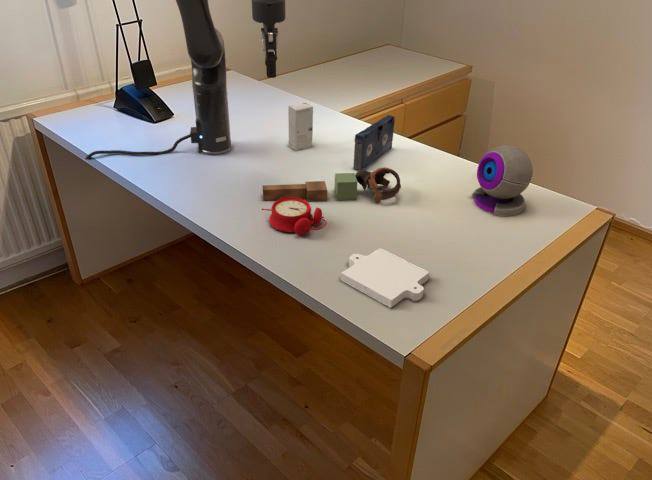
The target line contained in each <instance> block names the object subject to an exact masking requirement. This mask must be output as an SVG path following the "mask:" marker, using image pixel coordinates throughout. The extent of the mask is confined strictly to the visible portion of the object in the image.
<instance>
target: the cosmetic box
mask: <svg viewBox="0 0 652 480" xmlns="http://www.w3.org/2000/svg"><path fill="white" fill-rule="evenodd" d="M287 110H288V115H287V116H288V120H287V121H288V146H289V147H290V148H291V149H292V150H293V151H298V150H304V149H307V148H312V147H313V136H314V135H313V132H314V131H313V127H314V125H313V124H314V106H313V105H311V104H310V103H308V102H301V103H295V104H291V105H288V109H287Z"/></svg>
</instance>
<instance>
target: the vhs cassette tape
mask: <svg viewBox="0 0 652 480" xmlns="http://www.w3.org/2000/svg"><path fill="white" fill-rule="evenodd" d="M395 119H396V117H395V116H393V115H390V114H387V115H386V116H384V117H382V118H381V119H379V120H378V121H375V122H374V123H372V124H370V125H369V126H367V127H366V128H364V130H361V131H360V132H358V133H356V134H354V150H353V154H354V155H353V169H355V170H357V171H359V170H365V169H367V167H369V166H370V165H372V164H373V163H374V162H376V161H377V160H378V159H380V158H381V157H383V156H384V155H386V154H387V153H388V152H390V151H391V150H392V149H393V142H394V141H393V140H394V131H395V123H396V121H395Z"/></svg>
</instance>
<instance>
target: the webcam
mask: <svg viewBox="0 0 652 480" xmlns="http://www.w3.org/2000/svg"><path fill="white" fill-rule="evenodd" d="M533 169H534V167H533V163H532V161H531V159H530V157H529V155H528V154H527V153H526V152H525V151H524V150H523V149H521V148H519V147H517V146H514V145H508V144H507V145H498V146H496V147H493V148H491V149H490V150H488V151H487V152H486V153H485V154H484V155H483V157H482V158H481V159H480V160H479V163H478V165H477V170H476V179H477V182H478V184H479V187H478V188H476V189H475V190H474V191H473V192H472V193H471V194H472V195H471V199H474V203H475V205H476V206H477V207H478V208H479V209H481V210H483V211H485V212H489V213H492V214H493V215H494V216H499V217H507V216H509V217H510V216H514V215H518V214H520V213H521V212H522V211H523V210H524V209H525V204H526V201H525V198H524V196H523V195H522V193H523V192H525V190H527V188H528V187H529V186H530V184H531V182H532V179H533V171H534V170H533Z"/></svg>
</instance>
